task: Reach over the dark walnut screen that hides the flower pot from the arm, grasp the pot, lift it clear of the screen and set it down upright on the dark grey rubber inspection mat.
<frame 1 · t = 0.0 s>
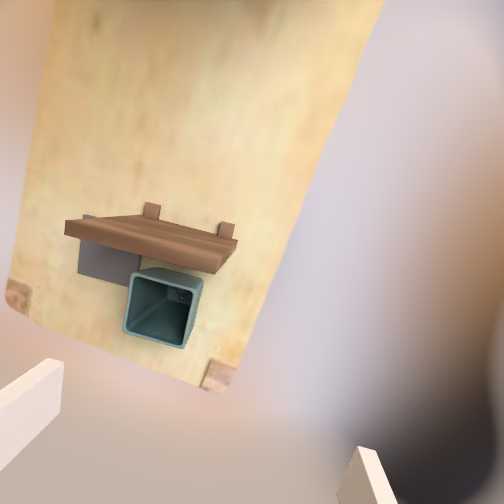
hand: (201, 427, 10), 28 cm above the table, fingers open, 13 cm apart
screen: (188, 231, 37), on the table
mat: (111, 251, 39), on the table
flower pot: (183, 287, 40), on the table
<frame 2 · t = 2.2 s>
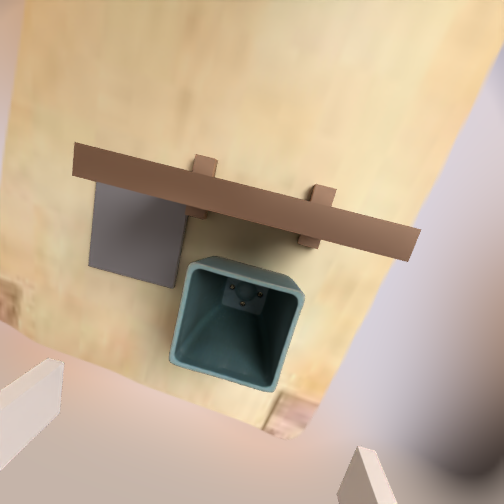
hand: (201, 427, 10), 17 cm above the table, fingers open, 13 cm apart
screen: (258, 202, 24), on the table
mat: (139, 233, 26), on the table
flower pot: (246, 288, 27), on the table
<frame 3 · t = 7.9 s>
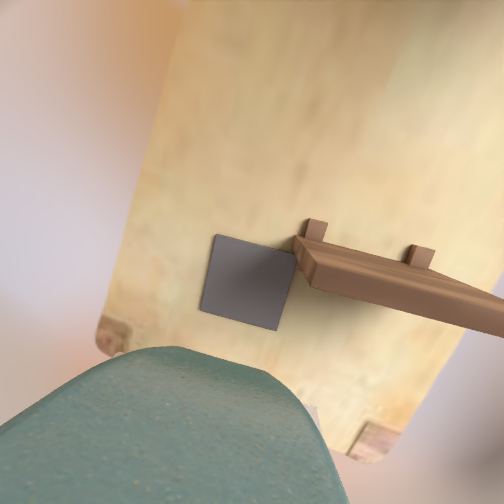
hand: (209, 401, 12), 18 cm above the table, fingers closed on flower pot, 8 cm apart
screen: (360, 258, 28), on the table
mat: (247, 282, 29), on the table
flower pot: (212, 393, 12), point 18 cm above the table, touching gripper
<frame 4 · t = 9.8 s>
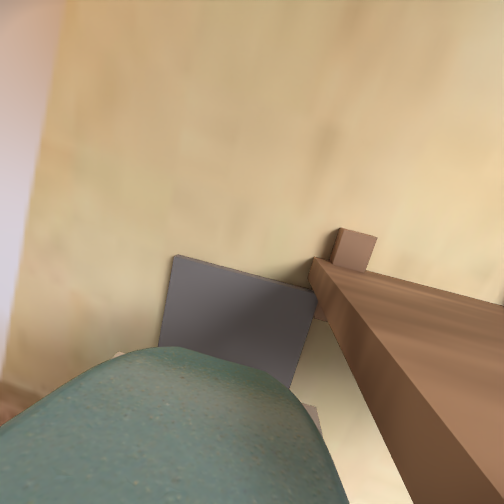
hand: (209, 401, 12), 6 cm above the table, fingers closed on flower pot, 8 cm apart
screen: (429, 298, 15), on the table
mat: (231, 336, 17), on the table
flower pot: (212, 393, 12), point 5 cm above the table, touching gripper
when the fingers open (2 cm above the table, at t = 11.5 s): flower pot drops 1 cm, resting on mat.
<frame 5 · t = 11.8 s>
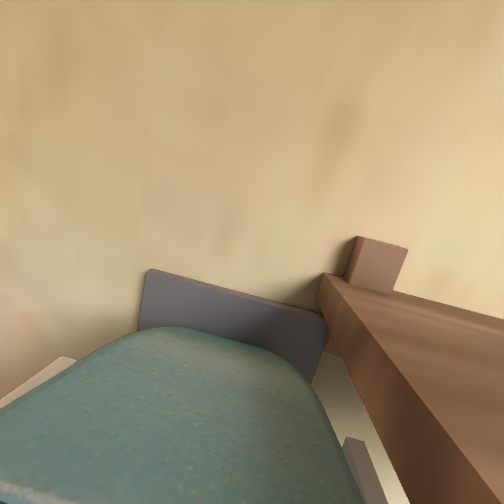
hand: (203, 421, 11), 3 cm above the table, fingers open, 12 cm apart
screen: (471, 325, 12), on the table
mat: (220, 369, 14), on the table
flower pot: (219, 371, 13), resting on mat
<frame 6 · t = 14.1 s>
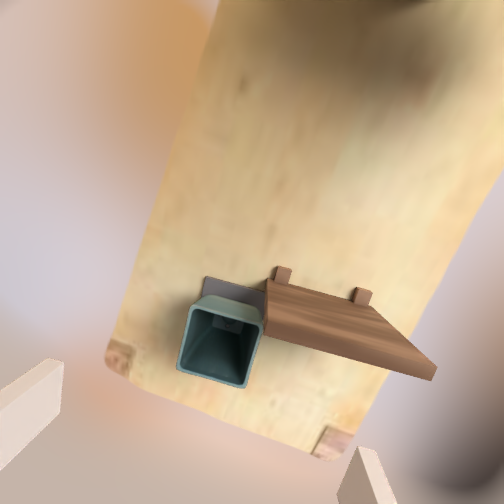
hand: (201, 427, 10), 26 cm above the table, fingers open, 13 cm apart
screen: (317, 296, 36), on the table
mat: (230, 314, 37), on the table
flower pot: (230, 314, 37), resting on mat
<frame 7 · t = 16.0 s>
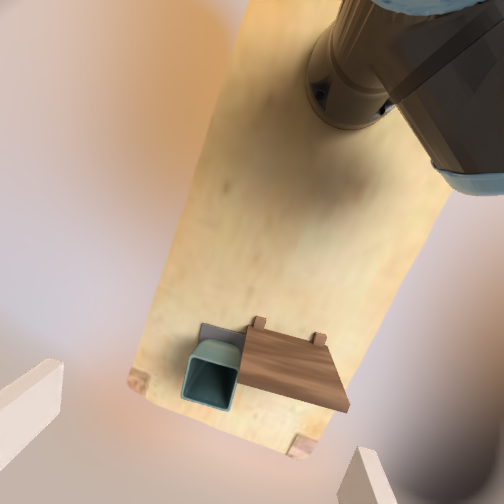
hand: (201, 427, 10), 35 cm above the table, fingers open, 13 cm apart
screen: (286, 338, 47), on the table
mat: (221, 350, 49), on the table
flower pot: (221, 351, 48), resting on mat
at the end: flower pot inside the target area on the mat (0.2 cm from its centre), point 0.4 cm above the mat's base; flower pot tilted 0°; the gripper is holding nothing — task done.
